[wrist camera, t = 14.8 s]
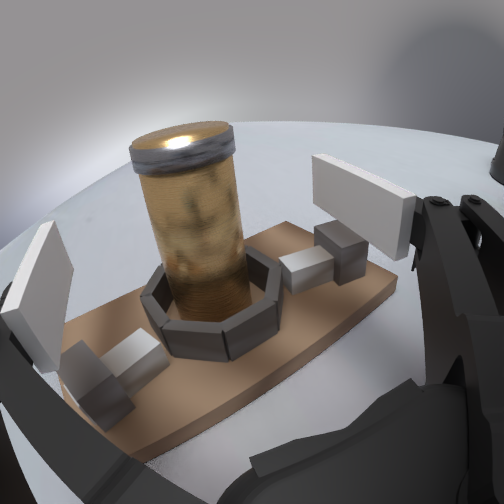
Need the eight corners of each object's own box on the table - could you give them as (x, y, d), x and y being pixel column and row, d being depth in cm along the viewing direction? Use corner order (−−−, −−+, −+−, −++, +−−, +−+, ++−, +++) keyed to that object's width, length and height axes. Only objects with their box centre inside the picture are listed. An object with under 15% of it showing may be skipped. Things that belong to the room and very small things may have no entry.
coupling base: (286, 234, 32) (284, 191, 30) (394, 291, 23) (404, 239, 21) (57, 343, 21) (30, 299, 19) (102, 481, 12) (54, 446, 10)
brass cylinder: (254, 283, 24) (233, 116, 17) (257, 336, 19) (230, 133, 13) (183, 289, 24) (145, 131, 17) (172, 342, 19) (112, 154, 13)
